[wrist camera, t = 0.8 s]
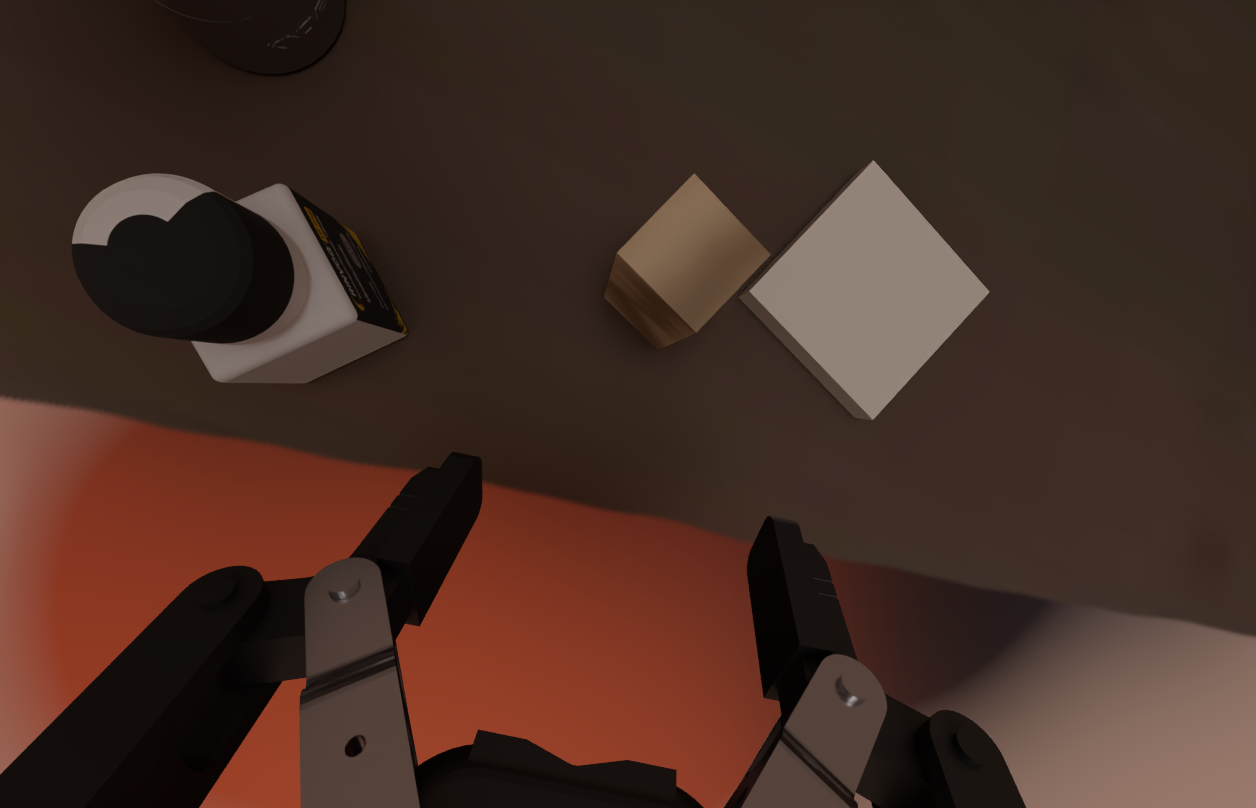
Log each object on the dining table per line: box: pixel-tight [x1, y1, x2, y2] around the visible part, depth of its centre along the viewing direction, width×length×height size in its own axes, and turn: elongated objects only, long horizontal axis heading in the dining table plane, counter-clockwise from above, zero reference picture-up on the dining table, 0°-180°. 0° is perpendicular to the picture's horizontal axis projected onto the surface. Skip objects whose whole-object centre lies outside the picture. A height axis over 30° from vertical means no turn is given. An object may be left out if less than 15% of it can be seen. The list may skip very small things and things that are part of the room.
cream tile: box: [738, 160, 989, 420], centre depth 31 cm, size 12×12×2 cm
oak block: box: [604, 174, 770, 350], centre depth 25 cm, size 5×5×10 cm
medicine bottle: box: [72, 174, 408, 383], centre depth 22 cm, size 7×7×12 cm
